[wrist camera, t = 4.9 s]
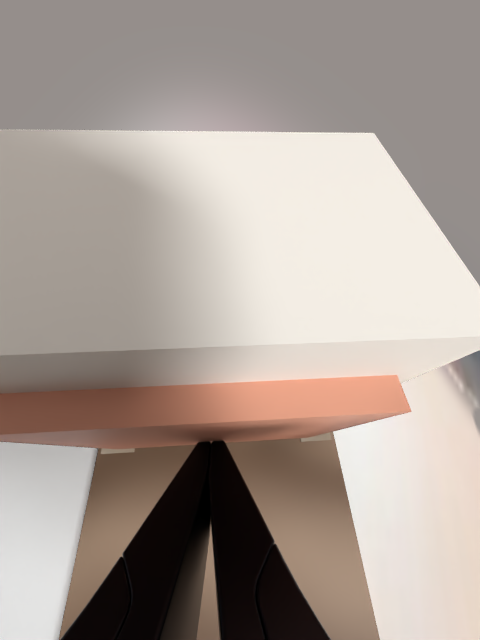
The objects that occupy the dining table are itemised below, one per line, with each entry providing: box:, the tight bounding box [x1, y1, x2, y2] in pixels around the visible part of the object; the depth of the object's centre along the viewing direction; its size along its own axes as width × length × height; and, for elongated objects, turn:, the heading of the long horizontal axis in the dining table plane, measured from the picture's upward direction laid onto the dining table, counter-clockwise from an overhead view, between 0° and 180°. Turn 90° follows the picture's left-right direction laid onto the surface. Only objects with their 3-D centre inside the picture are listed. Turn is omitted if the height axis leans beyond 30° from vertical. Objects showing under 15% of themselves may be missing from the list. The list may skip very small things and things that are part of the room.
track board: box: [59, 431, 380, 640], centre depth 12 cm, size 16×12×2 cm
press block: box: [0, 129, 480, 449], centre depth 8 cm, size 6×8×11 cm
